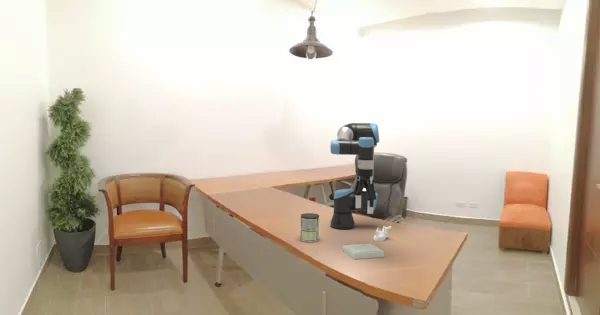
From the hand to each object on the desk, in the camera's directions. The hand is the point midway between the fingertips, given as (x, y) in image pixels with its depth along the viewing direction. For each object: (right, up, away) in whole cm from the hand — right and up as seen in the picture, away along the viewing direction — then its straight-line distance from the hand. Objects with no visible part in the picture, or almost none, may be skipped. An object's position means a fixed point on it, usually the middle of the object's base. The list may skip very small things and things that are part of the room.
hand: (364, 210), depth 200 cm
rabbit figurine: (+15, -21, +25) cm, 36 cm away
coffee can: (-27, -20, +26) cm, 42 cm away
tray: (0, -22, +1) cm, 22 cm away
